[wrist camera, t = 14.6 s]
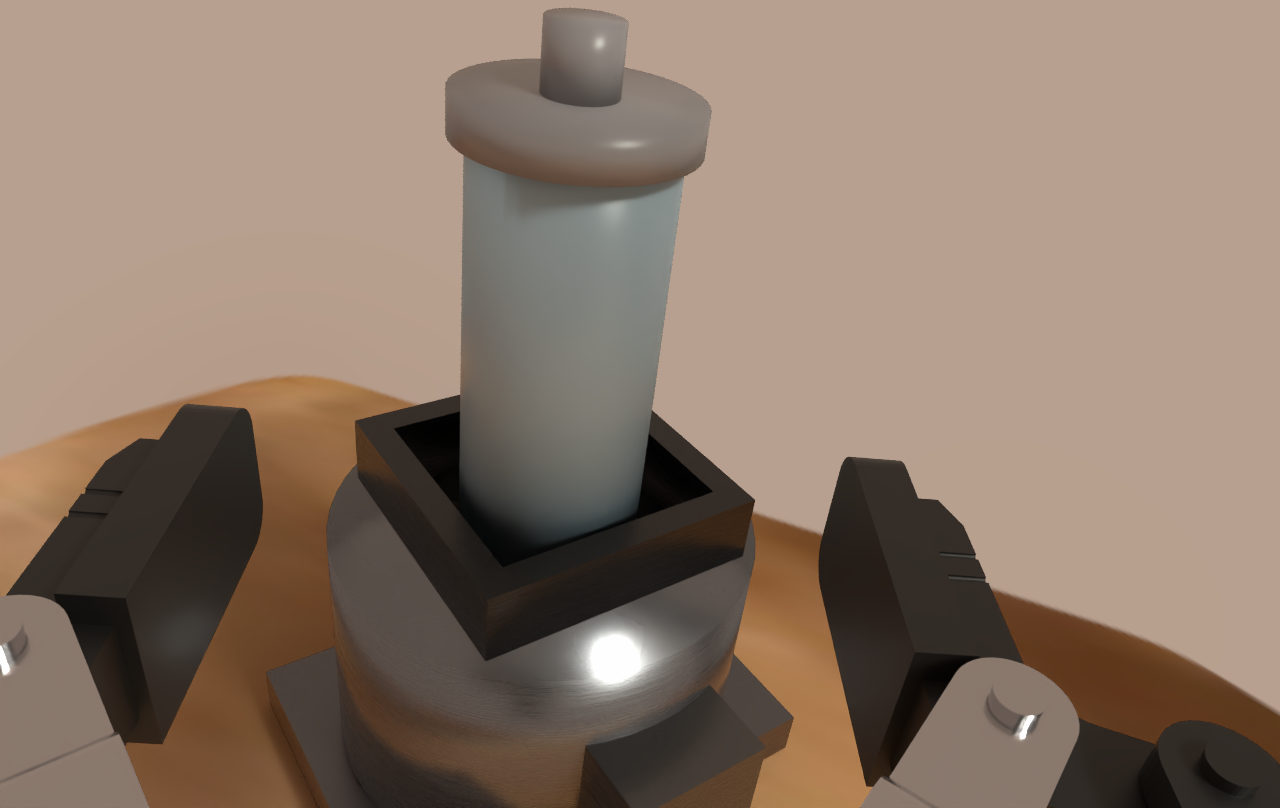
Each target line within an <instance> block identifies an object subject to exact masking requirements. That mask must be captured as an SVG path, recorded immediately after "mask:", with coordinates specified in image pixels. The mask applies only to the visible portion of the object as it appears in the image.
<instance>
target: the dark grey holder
mask: <svg viewBox="0 0 1280 808" xmlns="http://www.w3.org/2000/svg"><path fill="white" fill-rule="evenodd" d="M355 432H356V451H357V464H356V465H355V467H354V468H353V469H352V470H351V471H350V472H349V474H348V475H347V476H346V478H345V479H344V481H343V482H342V484H341V486H340V487H339V489H338V490H337V492H336V495H335V497H334V500H333V502H332V505H331V508H330V511H329V517H328V523H327V550H328V562H329V575H330V588H331V600H332V613H333V625H334V638H335V647H333V648H330V649H327V650H325V651H322V652H319V653H316V654H314V655H311V656H308V657H306V658H303V659H300V660H297V661H295V662H292V663H289V664H287V665H284V666H281V667H278V668H276V669H273V670H270V671H268V672H266V675H267V682H268V690H269V697H270V704H271V706H272V708H273V710H274V713H275V715H276V717H277V719H278V721H279V723H280V726H281V728H282V730H283V732H284V734H285V736H286V739H287V741H288V743H289V745H290V747H291V749H292V752H293V754H294V756H295V758H296V760H297V763H298V765H299V767H300V769H301V771H302V773H303V776H304V778H305V780H306V782H307V784H308V786H309V789H310V791H311V793H312V795H313V797H314V800H315V802H316V804H317V806H318V808H750V805H751V802H752V798H753V794H754V791H755V787H756V783H757V780H758V776H759V772H760V769H761V765H762V761H763V759H765V758H767V757H769V756H770V755H772V754H774V753H776V752H777V751H779V750H781V749H783V748H785V746H786V743H787V739H788V736H789V732H790V729H791V726H792V722H793V719H794V717H793V716H792V715H791V714H790V713H789V712H788V711H787V710H786V709H785V708H784V707H783V706H782V705H781V703H780V702H779V701H778V700H777V699H776V698H775V697H774V696H773V695H772V694H771V693H770V692H769V691H768V690H767V689H766V688H765V687H764V686H763V684H762V683H761V682H760V681H759V680H758V679H757V678H756V677H755V676H754V675H753V674H752V673H751V672H750V671H749V670H748V669H747V668H746V667H745V666H744V664H743V663H742V662H741V661H740V660H739V659H738V658H737V657H736V656H735V655H734V654H733V653H734V648H735V644H736V640H737V635H738V631H739V626H740V622H741V618H742V613H743V609H744V604H745V600H746V596H747V591H748V587H749V582H750V578H751V574H752V569H753V565H754V561H755V536H754V530H753V524H752V521H751V516H752V512H753V507H754V503H755V500H754V499H753V498H752V497H751V496H750V495H749V494H747V493H746V492H745V491H744V490H743V489H742V488H741V487H739V486H738V485H737V484H736V483H735V482H734V481H733V480H731V479H730V478H729V477H728V476H727V475H726V474H725V473H723V472H722V471H721V470H720V469H719V468H718V467H717V466H715V465H714V464H713V463H712V462H711V461H710V460H709V459H707V458H706V457H705V456H704V455H703V454H701V453H700V452H699V451H698V450H697V449H696V448H695V447H693V446H692V445H691V444H690V443H689V442H688V441H687V440H685V439H684V438H683V437H682V436H681V435H680V434H679V433H677V432H676V431H675V430H674V429H673V428H672V427H671V426H669V425H668V424H667V423H666V422H665V421H663V420H662V419H661V418H660V417H659V416H658V415H657V414H655V413H654V412H653V411H652V413H651V420H650V427H649V434H648V441H647V449H646V456H645V463H644V470H643V478H642V485H641V492H640V499H639V506H638V514H637V519H636V520H633V521H631V522H628V523H625V524H622V525H620V526H617V527H614V528H611V529H608V530H606V531H603V532H600V533H597V534H594V535H592V536H589V537H586V538H583V539H580V540H578V541H575V542H572V543H569V544H566V545H564V546H561V547H558V548H555V549H552V550H550V551H547V552H544V553H541V554H538V555H536V556H533V557H530V558H527V559H524V560H522V561H519V562H516V563H513V564H510V565H508V566H505V567H502V566H501V565H500V563H499V562H498V561H497V560H496V558H495V557H494V556H493V554H492V553H491V552H490V551H489V549H488V548H487V547H486V546H485V544H484V543H483V542H482V540H481V539H480V538H479V537H478V535H477V534H476V533H475V532H474V530H473V529H472V528H471V526H470V525H469V524H468V523H467V521H466V520H465V519H464V518H463V516H462V515H461V514H460V512H459V462H460V395H457V396H453V397H449V398H445V399H441V400H437V401H433V402H429V403H425V404H421V405H417V406H413V407H408V408H404V409H400V410H396V411H392V412H388V413H384V414H380V415H376V416H372V417H368V418H364V419H360V420H356V421H355Z"/></svg>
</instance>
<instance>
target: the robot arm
mask: <svg viewBox="0 0 1280 808" xmlns="http://www.w3.org/2000/svg"><path fill="white" fill-rule="evenodd" d="M85 489H86V491H85V494H81V495H80V496H79V498H78V499H77V500H76V502H75V503H74V504H73V506H72V507H71V508H70V510H69V515H68V517H66V516H65V517H64V518H63V519H62V521H61V522H60V523H59V525H58V526H57V527H56V529H55V530H54V531H53V533H52V534H51V535H50V537H49V538H48V539H47V541H46V542H45V543H44V545H43V546H42V548H41V549H40V550H39V552H38V553H37V554H36V556H35V557H34V558H33V560H32V561H31V562H30V564H29V565H28V566H27V568H26V569H25V570H24V572H23V573H22V574H21V576H20V577H19V579H18V580H17V581H16V583H15V584H14V585H13V587H12V588H11V589H10V591H9V592H8V593H7V595H6V596H2V597H0V808H149V805H148V803H147V800H146V798H145V795H144V793H143V790H142V788H141V786H140V783H139V781H138V778H137V776H136V773H135V771H134V768H133V766H132V763H131V761H130V758H129V756H128V753H127V751H126V748H125V745H126V743H127V742H131V743H149V744H162V743H163V741H164V739H165V737H166V735H167V733H168V731H169V729H170V727H171V724H172V722H173V720H174V718H175V716H176V714H177V712H178V710H179V707H180V705H181V703H182V701H183V699H184V697H185V695H186V693H187V690H188V688H189V686H190V684H191V682H192V680H193V678H194V676H195V674H196V671H197V669H198V667H199V665H200V663H201V661H202V659H203V657H204V654H205V652H206V650H207V648H208V646H209V644H210V642H211V640H212V638H213V635H214V633H215V631H216V629H217V627H218V625H219V623H220V621H221V618H222V616H223V614H224V612H225V610H226V608H227V606H228V604H229V601H230V599H231V597H232V595H233V593H234V591H235V589H236V587H237V585H238V582H239V580H240V578H241V576H242V574H243V572H244V570H245V568H246V565H247V563H248V561H249V559H250V557H251V555H252V553H253V551H254V549H255V546H256V544H257V541H258V538H259V534H260V529H261V523H262V514H263V501H262V492H261V485H260V478H259V470H258V463H257V456H256V448H255V441H254V434H253V426H252V420H251V417H250V414H249V412H248V411H247V410H246V409H245V408H232V407H219V406H207V405H194V404H186V405H184V406H183V407H182V408H181V409H180V410H179V411H178V413H177V414H176V416H175V417H174V419H173V420H172V422H171V423H170V424H169V426H168V427H167V429H166V430H165V432H164V433H163V435H162V436H161V438H160V439H159V440H155V439H141V438H140V439H138V440H137V441H135V442H134V443H132V444H131V445H129V446H128V447H126V448H125V449H123V450H122V451H120V452H119V453H117V454H116V455H114V456H113V457H111V458H109V459H108V460H106V461H105V463H104V464H103V465H102V467H101V468H100V469H99V471H98V472H97V473H96V475H95V476H94V477H93V479H92V480H91V481H90V483H89V484H88V486H87V487H86V488H85ZM975 555H976V554H975V551H974V549H973V547H972V545H971V542H970V540H969V537H968V535H967V533H966V531H965V528H964V526H963V525H962V524H961V523H960V522H959V521H958V520H957V519H956V518H955V517H954V516H953V515H952V514H951V513H950V512H949V511H948V510H947V509H946V508H945V507H944V506H943V505H942V504H941V503H940V502H939V501H938V500H931V499H918V497H917V494H916V492H915V489H914V487H913V484H912V482H911V479H910V477H909V474H908V472H907V469H906V467H905V465H904V463H903V462H902V461H896V460H883V459H869V458H856V457H847V458H846V459H845V460H844V462H843V464H842V466H841V469H840V472H839V477H838V480H837V484H836V488H835V491H834V495H833V499H832V503H831V506H830V510H829V514H828V518H827V521H826V525H825V529H824V533H823V536H822V540H821V545H820V552H819V583H820V588H821V593H822V597H823V601H824V606H825V610H826V614H827V619H828V623H829V627H830V632H831V636H832V640H833V645H834V649H835V653H836V658H837V662H838V666H839V671H840V675H841V679H842V684H843V688H844V692H845V696H846V701H847V705H848V709H849V714H850V718H851V722H852V727H853V731H854V735H855V740H856V744H857V748H858V753H859V757H860V761H861V766H862V770H863V774H864V779H865V783H866V786H870V787H873V788H872V790H871V791H870V793H869V794H868V796H867V797H866V799H865V800H864V802H863V804H862V805H861V807H860V808H1280V765H1279V763H1278V762H1277V761H1276V760H1275V759H1274V758H1273V757H1272V756H1270V755H1269V754H1268V753H1267V752H1266V751H1265V750H1263V749H1262V748H1261V747H1260V746H1258V745H1257V744H1255V743H1254V742H1252V741H1251V740H1249V739H1248V738H1246V737H1244V736H1242V735H1241V734H1239V733H1237V732H1235V731H1233V730H1230V729H1228V728H1225V727H1223V726H1220V725H1216V724H1213V723H1209V722H1203V721H1190V720H1189V721H1181V722H1178V723H1175V724H1172V725H1171V726H1169V727H1168V728H1166V729H1165V730H1164V732H1163V733H1162V734H1161V736H1160V737H1159V739H1158V741H1157V742H1156V744H1152V743H1149V742H1146V741H1143V740H1140V739H1137V738H1134V737H1130V736H1127V735H1124V734H1121V733H1118V732H1115V731H1112V730H1109V729H1106V728H1103V727H1099V726H1097V725H1094V724H1091V723H1089V722H1086V721H1084V720H1082V719H1080V718H1078V715H1077V713H1076V710H1075V708H1074V706H1073V704H1072V703H1071V701H1070V700H1069V698H1068V697H1067V696H1066V694H1065V693H1064V692H1063V691H1062V690H1061V689H1060V688H1059V687H1058V686H1057V685H1056V684H1055V683H1054V682H1053V681H1051V680H1050V679H1049V678H1047V677H1046V676H1045V675H1043V674H1042V673H1040V672H1038V671H1036V670H1035V669H1033V668H1031V667H1028V666H1026V665H1024V664H1023V661H1022V659H1021V657H1020V654H1019V652H1018V650H1017V648H1016V645H1015V643H1014V641H1013V638H1012V636H1011V634H1010V631H1009V629H1008V627H1007V625H1006V622H1005V620H1004V618H1003V615H1002V613H1001V611H1000V609H999V606H998V604H997V602H996V599H995V597H994V595H993V593H992V590H991V588H990V586H989V583H986V582H985V578H986V577H985V574H984V572H983V570H982V567H981V565H980V563H979V561H978V560H976V559H975Z"/></svg>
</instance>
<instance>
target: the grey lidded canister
mask: <svg viewBox="0 0 1280 808" xmlns="http://www.w3.org/2000/svg"><path fill="white" fill-rule="evenodd" d="M628 23H629V22H628V21H627V20H626V19H624V18H622V17H620V16H618V15H614V14H610V13H607V12H602V11H596V10H589V9H578V8H558V9H551V10H547V11H545V12H544V13H543V27H542V45H541V59H513V60H501V61H493V62H487V63H482V64H477V65H474V66H470V67H467V68H464V69H462V70H459V71H457V72H456V73H454V74H452V75H451V76H450V77H449V78H448V80H447V82H446V88H445V135H446V138H447V140H448V142H449V143H450V144H451V145H452V147H454V148H455V149H456V150H457V151H458V152H460V153H461V154H463V155H464V164H463V165H464V166H463V168H464V169H463V238H462V239H463V240H462V314H461V388H460V389H461V390H460V462H459V512H460V514H461V515H462V516H463V518H464V519H465V520H466V521H467V523H468V524H469V525H470V526H471V528H472V529H473V530H474V532H475V533H476V534H477V535H478V537H479V538H480V539H481V540H482V542H483V543H484V544H485V546H486V547H487V548H488V549H489V551H490V552H491V553H492V554H493V556H494V557H495V558H496V560H497V561H498V562H499V563H500V565H501V566H502V567H505V566H508V565H510V564H513V563H516V562H519V561H522V560H524V559H527V558H530V557H533V556H536V555H538V554H541V553H544V552H547V551H550V550H552V549H555V548H558V547H561V546H564V545H566V544H569V543H572V542H575V541H578V540H580V539H583V538H586V537H589V536H592V535H594V534H597V533H600V532H603V531H606V530H608V529H611V528H614V527H617V526H620V525H622V524H625V523H628V522H631V521H633V520H636V519H637V514H638V506H639V499H640V492H641V485H642V478H643V470H644V463H645V456H646V449H647V441H648V434H649V427H650V420H651V413H652V405H653V398H654V391H655V384H656V376H657V369H658V361H659V354H660V348H661V340H662V333H663V326H664V319H665V311H666V304H667V297H668V290H669V282H670V275H671V268H672V260H673V254H674V246H675V239H676V232H677V225H678V217H679V210H680V203H681V196H682V188H683V181H684V176H686V175H688V174H690V173H692V172H694V171H695V170H696V169H697V168H699V167H700V166H701V165H702V163H703V161H704V158H705V152H706V145H707V138H708V131H709V125H710V119H711V112H712V110H711V107H710V105H709V103H708V102H707V101H706V100H705V99H704V98H703V97H702V96H701V95H699V94H698V93H696V92H695V91H693V90H691V89H689V88H688V87H686V86H683V85H681V84H679V83H677V82H674V81H671V80H669V79H666V78H663V77H660V76H656V75H653V74H650V73H646V72H642V71H638V70H634V69H629V68H624V65H625V55H626V44H627V34H628V25H629V24H628Z"/></svg>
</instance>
